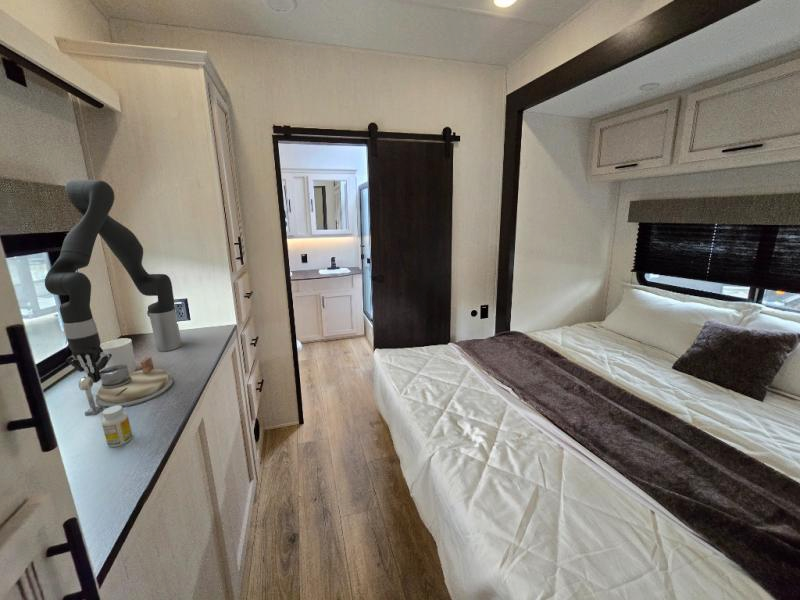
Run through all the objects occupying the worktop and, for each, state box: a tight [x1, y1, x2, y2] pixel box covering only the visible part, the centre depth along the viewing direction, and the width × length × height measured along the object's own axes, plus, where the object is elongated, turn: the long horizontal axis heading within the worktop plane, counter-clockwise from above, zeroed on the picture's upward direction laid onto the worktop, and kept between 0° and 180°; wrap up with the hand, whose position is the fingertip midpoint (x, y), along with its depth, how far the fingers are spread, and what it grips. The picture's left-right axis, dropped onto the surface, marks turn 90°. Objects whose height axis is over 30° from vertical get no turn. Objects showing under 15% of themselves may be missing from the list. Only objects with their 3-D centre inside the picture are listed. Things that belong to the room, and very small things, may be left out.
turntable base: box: [95, 374, 174, 409], centre depth 117 cm, size 21×21×1 cm
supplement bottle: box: [101, 405, 133, 448], centre depth 91 cm, size 5×5×10 cm
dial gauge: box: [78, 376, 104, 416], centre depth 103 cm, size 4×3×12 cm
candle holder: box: [100, 337, 137, 373], centre depth 128 cm, size 10×10×12 cm
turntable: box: [97, 356, 169, 403], centre depth 116 cm, size 20×19×6 cm
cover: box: [100, 365, 132, 389], centre depth 115 cm, size 8×8×5 cm
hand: (95, 381), depth 114 cm, fingers closed
